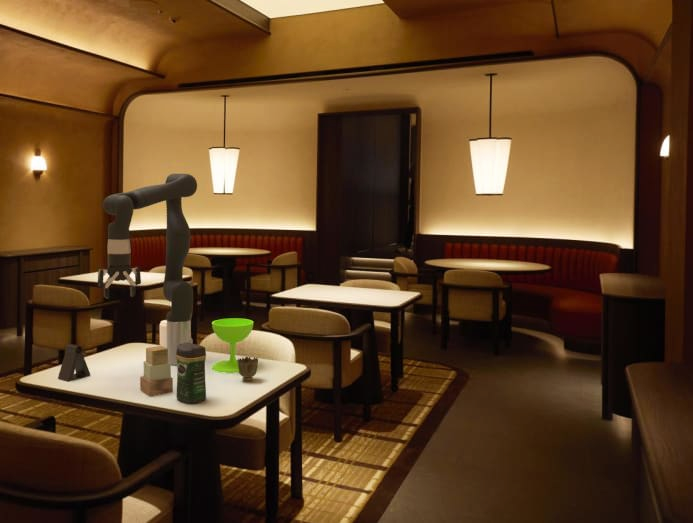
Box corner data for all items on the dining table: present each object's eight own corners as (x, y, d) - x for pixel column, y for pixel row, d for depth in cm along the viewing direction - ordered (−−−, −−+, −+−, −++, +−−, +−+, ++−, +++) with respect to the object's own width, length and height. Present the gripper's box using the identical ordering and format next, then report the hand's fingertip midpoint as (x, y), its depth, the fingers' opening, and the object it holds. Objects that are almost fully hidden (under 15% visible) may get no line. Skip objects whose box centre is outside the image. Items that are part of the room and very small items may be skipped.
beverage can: (161, 351, 255) (161, 323, 254) (158, 346, 262) (157, 320, 261) (180, 349, 259) (180, 322, 258) (176, 345, 266) (176, 319, 265)
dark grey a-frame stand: (67, 381, 209) (67, 348, 208) (57, 378, 212) (57, 346, 211) (90, 375, 217) (90, 343, 216) (80, 373, 220) (79, 341, 219)
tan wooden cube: (161, 360, 204) (161, 345, 203) (167, 363, 200) (167, 348, 199) (146, 362, 200) (145, 347, 200) (152, 365, 196) (152, 351, 196)
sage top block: (164, 372, 206) (164, 358, 205) (170, 377, 200) (170, 363, 200) (143, 375, 202) (143, 361, 201) (149, 381, 196) (149, 366, 196)
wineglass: (206, 364, 235) (206, 320, 233) (244, 360, 243) (244, 317, 241) (219, 375, 221) (219, 327, 219) (259, 369, 229) (259, 324, 227)
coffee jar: (210, 400, 193) (210, 344, 191) (189, 406, 187) (189, 348, 185) (193, 393, 199) (192, 339, 197) (172, 399, 193) (172, 343, 191)
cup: (261, 379, 217) (262, 357, 216) (252, 384, 210) (252, 362, 210) (243, 376, 220) (243, 355, 219) (233, 382, 213) (233, 360, 212)
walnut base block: (163, 386, 207) (162, 372, 206) (172, 392, 200) (172, 377, 200) (140, 390, 201) (140, 376, 201) (149, 396, 195) (149, 382, 195)
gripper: (136, 250, 215) (136, 294, 217) (95, 251, 207) (96, 297, 208) (142, 252, 209) (143, 297, 211) (100, 253, 201) (101, 300, 202)
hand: (119, 297), depth 210 cm, fingers open, 8 cm apart
